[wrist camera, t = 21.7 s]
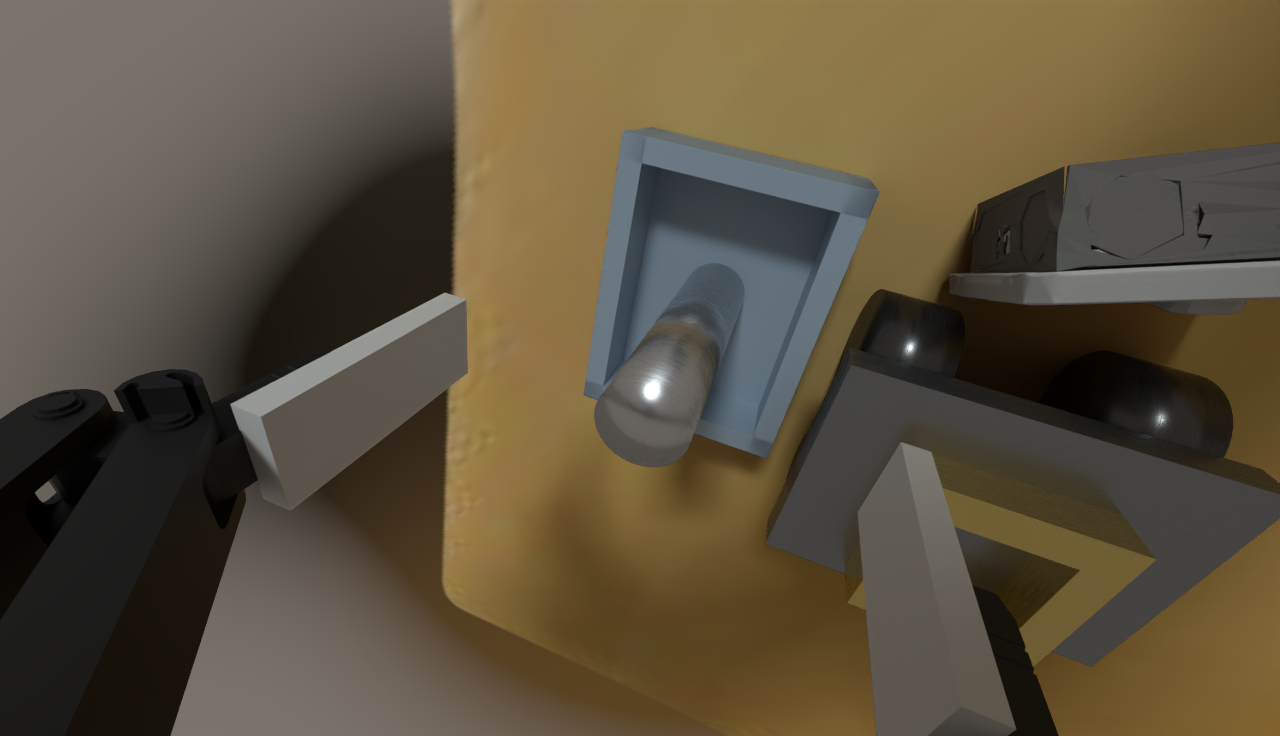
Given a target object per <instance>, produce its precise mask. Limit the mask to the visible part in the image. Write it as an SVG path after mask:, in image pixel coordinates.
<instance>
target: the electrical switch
mask: <svg viewBox="0 0 1280 736" xmlns="http://www.w3.org/2000/svg"><path fill="white" fill-rule="evenodd" d="M1118 176H1120V177H1119V178H1117V177H1118ZM1116 178H1117V179H1116ZM1115 179H1116V180H1115ZM1063 194H1064V167H1062V168H1060V169H1058V170H1055V171H1053V172H1051V173H1048V174H1046V175H1044V176H1041V177H1039V178H1037V179H1035V180H1032V181H1030V182H1028V183H1025V184H1023V185H1021V186H1018V187H1016V188H1014V189H1012V190H1009V191H1007V192H1005V193H1002V194H1000V195H998V196H995V197H993V198H991V199H988V200H986V201H984V202H982V203H979V204H978V210H977V229H976V234H975V235H973V244H972V261H971V268H970V273H955V274H949V294H953V295H958V296H962V297H968V298H975V299H983V300H990V301H998V302H1006V303H1015V304H1024V305H1073V304H1108V303H1143V302H1146V303H1149V304H1151V305H1154V306H1156V307H1159V308H1161V309H1164V310H1166V311H1168V312H1174V313H1180V314H1233V313H1237V312H1241V311H1242V310H1243V308H1244V305H1245V303H1246V300H1250V299H1280V143H1272V144H1263V145H1253V146H1244V147H1235V148H1226V149H1216V150H1207V151H1198V152H1188V153H1179V154H1170V155H1161V156H1151V157H1142V158H1133V159H1123V160H1114V161H1105V162H1096V163H1086V164H1077V165H1069V166H1068V168H1067V177H1066V187H1065V197H1064V198H1063ZM1000 235H1001V236H1000ZM999 237H1000V241H999V242H998V239H999Z"/></svg>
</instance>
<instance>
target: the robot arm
mask: <svg viewBox="0 0 1280 736" xmlns="http://www.w3.org/2000/svg"><path fill="white" fill-rule="evenodd" d="M467 373H468V364H467V313H466V299H463V298H460V297H457V296H453V295H450V294H447V293H444V294H442V295H440V296H438V297H436V298H434V299H432V300H430V301H428V302H426V303H424V304H422V305H421V306H419V307H417V308H415V309H413V310H411V311H409V312H407V313H405V314H403V315H401V316H399V317H397V318H396V319H393V320H392V321H390V322H388V323H386V324H384V325H382V326H380V327H378V328H376V329H374V330H372V331H371V332H369V333H367V334H365V335H363V336H361V337H359V338H357V339H355V340H353V341H351V342H349V343H347V344H345V345H344V346H342V347H340V348H338V349H336V350H331V349H330V350H326V351H323V352H319V353H315V354H311V355H308V356H306V357H304V358H302V359H300V360H298V361H296V362H294V363H292V364H290V365H288V367H287V368H285V367H284V368H282V369H280V370H278V371H276V372H274V373H272V375H271V376H269V375H268V376H266V377H264V378H262V379H260V380H258V381H256V382H254V383H252V384H250V385H248V386H246V387H244V388H242V389H240V390H238V391H236V392H234V393H232V394H230V395H228V396H226V397H224V398H222V399H220V400H218V401H216V402H214V403H211V401H210V398H209V396H208V393H207V390H206V387H205V385H204V382H203V379H202V378H201V377H200V376H199V375H198V374H197V373H194V372H191V371H187V370H175V369H173V370H172V369H170V370H162V371H154V372H151V373H147V374H143V375H140V376H137V377H135V378H132V379H130V380H128V381H126V382H124V383H122V384H121V385H120V386H119V387H118V388H117V389H115V390H114V392H115V394H116V396H117V398H118V400H119V402H120V404H121V406H122V408H123V410H124V412H119V411H113V410H112V408H111V406H110V404H109V403H108V400H107V398H106V396H105V395H103V394H102V393H100V392H99V391H94V390H88V389H78V390H77V389H76V390H63V391H60V392H59V391H58V392H53V393H49V394H47V395H44V396H41V397H38V398H35V399H33V400H31V401H29V402H27V403H25V404H23V405H21V406H19V407H18V408H16V409H15V410H13V411H12V412H10V413H9V414H7V415H6V416H4V417H3V418H1V419H0V736H170V735H171V732H172V729H173V726H174V723H175V720H176V717H177V714H178V711H179V707H180V704H181V701H182V698H183V695H184V692H185V689H186V686H187V682H188V679H189V676H190V673H191V670H192V667H193V664H194V661H195V658H196V654H197V652H198V648H199V645H200V642H201V639H202V636H203V633H204V630H205V627H206V624H207V620H208V617H209V614H210V611H211V608H212V605H213V602H214V599H215V595H216V593H217V589H218V586H219V583H220V580H221V577H222V574H223V571H224V567H225V565H226V561H227V558H228V555H229V552H230V549H231V546H232V543H233V540H234V537H235V534H236V530H237V527H238V524H239V521H240V518H241V515H242V512H243V509H244V506H245V502H246V493H245V491H244V489H245V488H247V487H248V486H250V485H251V484H252V483H254V482H255V481H258V485H259V487H260V490H261V493H262V496H263V499H265V500H268V501H270V502H272V503H274V504H276V505H279V506H281V507H283V508H285V509H287V510H290V511H291V510H292V509H293V508H294V507H295V506H297V505H298V504H299V503H301V502H302V501H303V500H305V499H306V498H307V497H309V496H310V495H311V494H312V493H314V492H315V491H316V490H318V489H319V488H320V487H321V486H323V485H324V484H325V483H326V482H328V481H329V480H330V479H332V478H333V477H334V476H335V475H337V474H338V473H339V472H341V471H342V470H343V469H344V468H346V467H347V466H348V465H350V464H351V463H352V462H354V461H355V460H356V459H357V458H359V457H360V456H361V455H363V454H364V453H365V452H366V451H368V450H369V449H370V448H371V447H373V446H374V445H375V444H377V443H378V442H379V441H381V440H382V439H383V438H384V437H386V436H387V435H388V434H389V433H391V432H392V431H393V430H395V429H396V428H397V427H399V426H400V425H401V424H402V423H404V422H405V421H406V420H407V419H409V418H410V417H411V416H412V415H414V414H415V413H417V412H418V411H419V410H420V409H422V408H423V407H424V406H425V405H427V404H428V403H429V402H431V401H432V400H433V399H434V398H436V397H437V396H438V395H440V394H441V393H442V392H444V391H445V390H446V389H447V388H449V387H450V386H451V385H453V384H454V383H455V382H456V381H458V380H459V379H460V378H461V377H463V376H464V375H465V374H467ZM48 480H49V482H50V483H51V485H52V486H53V488H54V489H55V491H56V492H57V493H56V494H55V495H53V496H52V497H51V498H50V499H49V500H47V501H45V502H44V503H43V502H41V501H40V500H39V499H38V497H37V496H36V494H35V492H36V491H37V490H38V489H39V488H40V487H41V486H43V485H44V484H45V483H46V482H47V481H48ZM858 524H859V536H860V547H861V559H862V571H863V583H864V595H865V607H866V619H867V630H868V642H869V654H870V666H871V678H872V690H873V701H874V713H875V725H876V736H1059V735H1058V733H1057V730H1056V727H1055V725H1054V722H1053V719H1052V716H1051V714H1050V711H1049V708H1048V706H1047V703H1046V700H1045V698H1044V695H1043V692H1042V689H1041V687H1040V684H1039V681H1038V679H1037V676H1036V675H1035V674H1033V670H1034V668H1033V665H1032V662H1031V660H1030V657H1029V654H1028V652H1025V648H1026V646H1025V643H1024V641H1023V638H1022V635H1021V633H1020V630H1019V627H1018V624H1017V622H1016V620H1015V619H1014V617H1013V616H1012V614H1011V613H1010V612H1009V610H1008V609H1007V607H1006V606H1005V605H1004V603H1003V602H1002V600H1001V599H1000V598H999V596H998V595H997V594H995V593H992V592H989V591H987V590H984V589H981V588H978V587H976V586H973V585H972V583H971V580H970V577H969V573H968V570H967V567H966V564H965V560H964V557H963V554H962V550H961V547H960V544H959V541H958V537H957V534H956V531H955V528H954V524H953V521H952V518H951V515H950V511H949V508H948V505H947V502H946V498H945V495H944V492H943V488H942V485H941V482H940V479H939V475H938V472H937V469H936V466H935V462H934V459H933V456H932V453H931V452H930V451H927V450H924V449H921V448H918V447H915V446H912V445H909V444H905V443H902V442H901V443H900V444H899V446H898V448H897V449H896V451H895V452H894V454H893V456H892V457H891V459H890V461H889V462H888V464H887V465H886V467H885V469H884V470H883V472H882V474H881V475H880V477H879V478H878V480H877V482H876V483H875V485H874V486H873V488H872V490H871V491H870V493H869V495H868V496H867V498H866V499H865V501H864V503H863V504H862V506H861V508H860V509H859V511H858Z"/></svg>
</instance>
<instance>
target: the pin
mask: <svg viewBox="0 0 1280 736" xmlns="http://www.w3.org/2000/svg"><path fill="white" fill-rule="evenodd" d="M744 297H745V289H744V284H743V282H742V280H741V278H740V276H739V275H738V274H737V273H736V272H735V271H734V270H733V269H731V268H730V267H728V266H726V265H723V264H719V263H710V264H705V265H702V266H700V267H698V268H697V269H696V270H694V271H693V272H692V273H691V275H690V276H689V277H688V279H687V280H686V281H685V283H684V284H683V285H682V287H681V288H680V290H679V291H678V292H677V294H676V295H675V296H674V298H673V299H672V300H671V302H670V303H669V304H668V306H667V307H666V308H665V310H664V311H663V312H662V314H661V315H660V316H659V318H658V319H657V320H656V322H655V323H654V325H653V326H652V327H651V329H650V330H649V331H648V333H647V334H646V335H645V337H644V338H643V339H642V341H641V342H640V343H639V345H638V346H637V347H636V349H635V350H634V351H633V353H632V354H631V355H630V357H629V358H628V360H627V361H626V362H625V364H624V365H623V366H622V368H621V369H620V370H619V372H618V373H617V374H616V376H615V377H614V378H613V380H612V381H611V382H610V384H609V385H608V386H607V388H606V389H605V391H604V392H603V393H602V395H601V396H600V398H599V399H598V401H597V403H596V407H595V413H594V417H595V424H596V427H597V430H598V433H599V435H600V437H601V438H602V440H603V441H604V442H605V444H606V445H607V446H608V447H609V448H610V449H611V450H612V451H613V452H614V453H615V454H617V455H618V456H620V457H621V458H623V459H625V460H626V461H629V462H631V463H634V464H637V465H640V466H646V467H661V466H666V465H669V464H671V463H674V462H675V461H677V460H679V459H680V458H681V457H682V456H683V455H684V454H685V453H686V451H687V450H688V448H689V445H690V443H691V440H692V438H693V435H694V432H695V430H696V427H697V424H698V422H699V419H700V416H701V414H702V411H703V408H704V406H705V403H706V400H707V398H708V395H709V392H710V389H711V387H712V384H713V381H714V379H715V376H716V373H717V371H718V368H719V365H720V363H721V360H722V357H723V355H724V352H725V349H726V347H727V344H728V341H729V339H730V336H731V333H732V331H733V328H734V325H735V323H736V320H737V317H738V315H739V312H740V309H741V307H742V304H743V301H744Z"/></svg>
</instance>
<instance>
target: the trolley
mask: <svg viewBox="0 0 1280 736" xmlns="http://www.w3.org/2000/svg"><path fill="white" fill-rule="evenodd" d="M964 337H965V325H964V319H963V316H962V314H961V313H960V312H959V311H958V310H956V309H953V308H949V307H946V306H942V305H938V304H935V303H931V302H927V301H924V300H920V299H916V298H913V297H909V296H905V295H902V294H898V293H894V292H891V291H887V290H883V289H880V290H878V291H876V292H875V293H874V294H873V295H872V296H871V298H870V299H869V300H868V302H867V303H866V305H865V306H864V308H863V310H862V311H861V313H860V315H859V317H858V319H857V321H856V323H855V325H854V327H853V330H852V332H851V334H850V337H849V339H848V342H847V345H846V347H845V350H844V353H843V356H842V360H841V363H840V367H839V369H838V371H837V373H836V375H835V378H834V380H833V382H832V384H831V386H830V388H829V390H828V393H827V395H826V397H825V399H824V401H823V403H822V405H821V408H820V410H819V412H818V414H817V416H816V418H815V420H814V423H813V425H812V427H811V429H810V430H809V431H808V432H807V433H806V434H805V436H804V437H803V439H802V441H801V442H800V444H799V447H798V449H797V451H796V453H795V456H794V458H793V461H792V464H791V467H790V470H789V473H788V476H787V479H786V482H785V485H784V487H783V489H782V491H781V493H780V495H779V497H778V500H777V502H776V504H775V506H774V508H773V510H772V512H771V515H770V517H769V519H768V526H767V535H766V544H767V545H770V546H773V547H775V548H778V549H781V550H783V551H786V552H789V553H791V554H794V555H797V556H799V557H802V558H805V559H807V560H810V561H812V562H815V563H818V564H820V565H823V566H826V567H828V568H831V569H834V570H836V571H839V572H842V573H844V574H845V578H846V592H847V603H848V604H851V605H854V606H856V607H859V608H861V609H864V610H866V607H865V595H864V583H863V571H862V559H861V547H860V536H859V524H858V511H859V509H860V508H861V506H862V504H863V503H864V501H865V499H866V498H867V496H868V495H869V493H870V491H871V490H872V488H873V486H874V485H875V483H876V482H877V480H878V478H879V477H880V475H881V474H882V472H883V470H884V469H885V467H886V465H887V464H888V462H889V461H890V459H891V457H892V456H893V454H894V452H895V451H896V449H897V448H898V446H899V444H900V443H901V442H902V443H905V444H909V445H912V446H915V447H918V448H921V449H924V450H927V451H930V452H931V453H932V456H933V459H934V462H935V466H936V469H937V472H938V475H939V479H940V482H941V485H942V488H943V492H944V495H945V498H946V502H947V505H948V508H949V511H950V515H951V518H952V521H953V524H954V528H955V531H956V534H957V537H958V541H959V544H960V547H961V550H962V554H963V557H964V560H965V564H966V567H967V570H968V573H969V577H970V580H971V583H972V585H973V586H976V587H978V588H981V589H984V590H987V591H989V592H992V593H995V594H997V595H998V596H999V598H1000V599H1001V600H1002V602H1003V603H1004V605H1005V606H1006V607H1007V609H1008V610H1009V612H1010V613H1011V614H1012V616H1013V617H1014V619H1015V620H1016V622H1017V624H1018V627H1019V630H1020V633H1021V635H1022V638H1023V641H1024V643H1025V646H1026V648H1025V652H1028V654H1029V657H1030V660H1031V662H1032V665H1033V667H1034V666H1035V665H1036V664H1037V663H1038V662H1040V661H1041V660H1042V659H1043V658H1044V657H1045V656H1047V655H1048V654H1049V653H1050V652H1054V653H1057V654H1059V655H1062V656H1065V657H1067V658H1070V659H1073V660H1075V661H1078V662H1080V663H1083V664H1086V665H1088V666H1091V667H1092V666H1093V665H1094V664H1096V663H1097V662H1098V661H1099V660H1101V659H1102V658H1103V657H1104V656H1106V655H1107V654H1108V653H1110V652H1111V651H1112V650H1113V649H1115V648H1116V647H1117V646H1118V645H1120V644H1121V643H1122V642H1124V641H1125V640H1126V639H1127V638H1129V637H1130V636H1131V635H1132V634H1134V633H1135V632H1136V631H1137V630H1139V629H1140V628H1141V627H1143V626H1144V625H1145V624H1146V623H1148V622H1149V621H1150V620H1151V619H1153V618H1154V617H1155V616H1156V615H1158V614H1159V613H1160V612H1162V611H1163V610H1164V609H1165V608H1167V607H1168V606H1169V605H1170V604H1172V603H1173V602H1174V601H1175V600H1177V599H1178V598H1179V597H1181V596H1182V595H1183V594H1184V593H1186V592H1187V591H1188V590H1189V589H1191V588H1192V587H1193V586H1195V585H1196V584H1197V583H1198V582H1200V581H1201V580H1202V579H1203V578H1205V577H1206V576H1207V575H1208V574H1210V573H1211V572H1212V571H1214V570H1215V569H1216V568H1217V567H1219V566H1220V565H1221V564H1222V563H1224V562H1225V561H1226V560H1227V559H1229V558H1230V557H1231V556H1233V555H1234V554H1235V553H1236V552H1238V551H1239V550H1240V549H1241V548H1243V547H1244V546H1245V545H1246V544H1248V543H1249V542H1250V541H1252V540H1253V539H1254V538H1255V537H1257V536H1258V535H1259V534H1260V533H1262V532H1263V531H1264V530H1265V529H1267V528H1268V527H1269V526H1271V525H1272V524H1273V523H1274V522H1276V521H1277V520H1278V519H1279V518H1280V483H1278V482H1277V481H1276V480H1275V479H1273V478H1272V477H1271V476H1270V475H1268V474H1267V473H1266V472H1265V471H1263V470H1262V469H1259V468H1256V467H1252V466H1249V465H1246V464H1242V463H1239V462H1236V461H1232V460H1229V459H1225V458H1223V457H1224V456H1225V454H1226V451H1227V449H1228V447H1229V444H1230V440H1231V437H1232V430H1233V415H1232V409H1231V406H1230V403H1229V401H1228V399H1227V397H1226V395H1225V393H1224V392H1223V391H1222V390H1221V389H1220V387H1219V386H1217V385H1216V384H1215V383H1214V382H1212V381H1210V380H1209V379H1207V378H1204V377H1202V376H1199V375H1195V374H1192V373H1188V372H1184V371H1181V370H1177V369H1173V368H1170V367H1166V366H1162V365H1159V364H1155V363H1151V362H1148V361H1144V360H1140V359H1137V358H1133V357H1129V356H1126V355H1122V354H1118V353H1115V352H1110V351H1098V352H1093V353H1089V354H1086V355H1084V356H1082V357H1080V358H1078V359H1077V360H1075V361H1073V362H1072V363H1071V364H1069V365H1068V366H1067V367H1066V368H1064V369H1063V370H1062V371H1061V372H1060V373H1059V374H1058V375H1057V377H1056V378H1055V379H1054V380H1053V381H1052V383H1051V384H1050V386H1049V387H1048V389H1047V390H1046V392H1045V394H1044V395H1043V397H1042V400H1041V402H1040V403H1036V402H1033V401H1030V400H1026V399H1023V398H1019V397H1016V396H1013V395H1009V394H1006V393H1002V392H999V391H996V390H992V389H989V388H986V387H982V386H979V385H975V384H972V383H969V382H965V381H962V380H959V379H955V378H954V376H955V373H956V371H957V368H958V365H959V362H960V358H961V355H962V350H963V345H964Z"/></svg>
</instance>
